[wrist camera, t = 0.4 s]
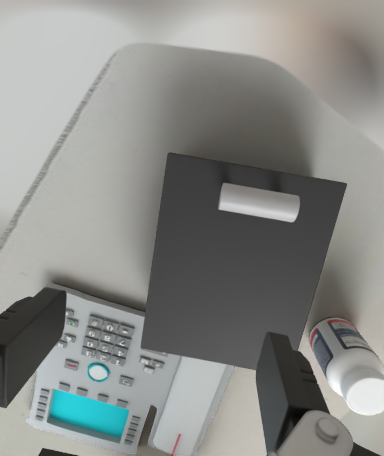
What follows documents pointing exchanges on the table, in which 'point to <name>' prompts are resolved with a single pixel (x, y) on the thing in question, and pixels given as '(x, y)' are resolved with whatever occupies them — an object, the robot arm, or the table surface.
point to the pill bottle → (349, 365)
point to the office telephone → (122, 383)
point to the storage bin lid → (235, 258)
